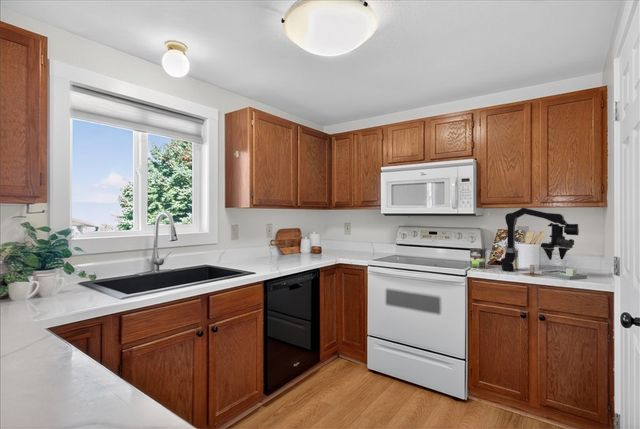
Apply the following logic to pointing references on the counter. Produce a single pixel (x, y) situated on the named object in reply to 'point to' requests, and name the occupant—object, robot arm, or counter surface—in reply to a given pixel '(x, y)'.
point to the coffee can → (478, 258)
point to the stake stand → (532, 272)
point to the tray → (551, 273)
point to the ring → (568, 272)
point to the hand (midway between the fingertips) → (556, 259)
